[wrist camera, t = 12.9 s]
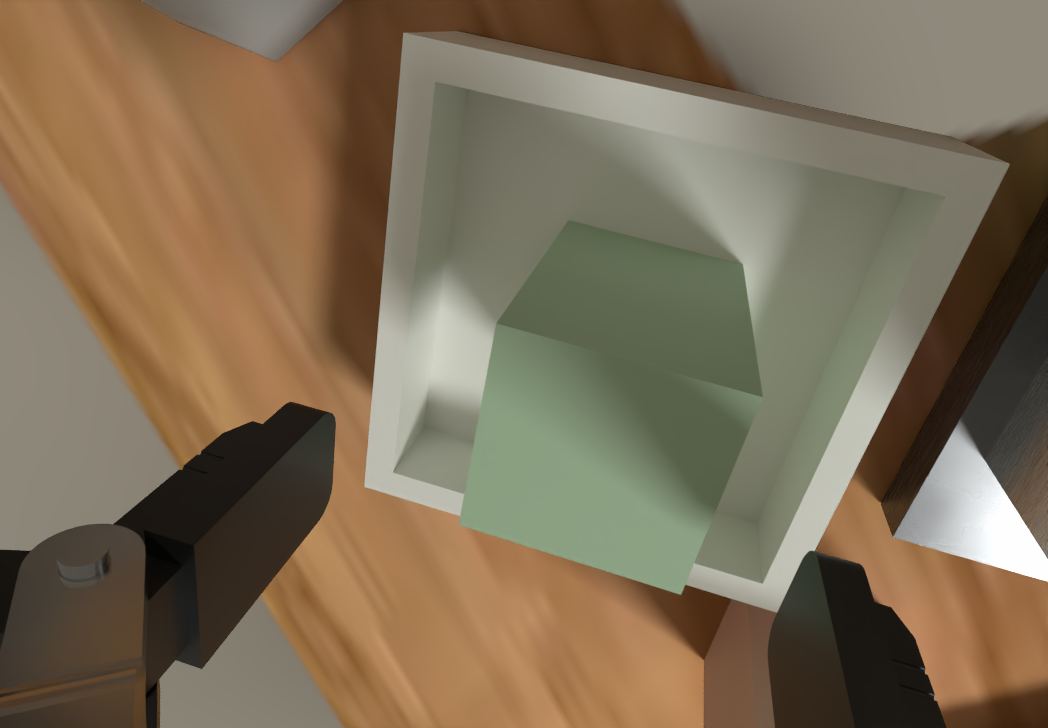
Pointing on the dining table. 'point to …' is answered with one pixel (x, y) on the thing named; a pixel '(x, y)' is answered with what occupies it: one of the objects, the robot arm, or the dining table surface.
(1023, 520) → the block
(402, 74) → the tray
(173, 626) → the robot arm
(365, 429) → the dining table surface
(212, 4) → the flask
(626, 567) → the sage block
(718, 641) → the terracotta block
